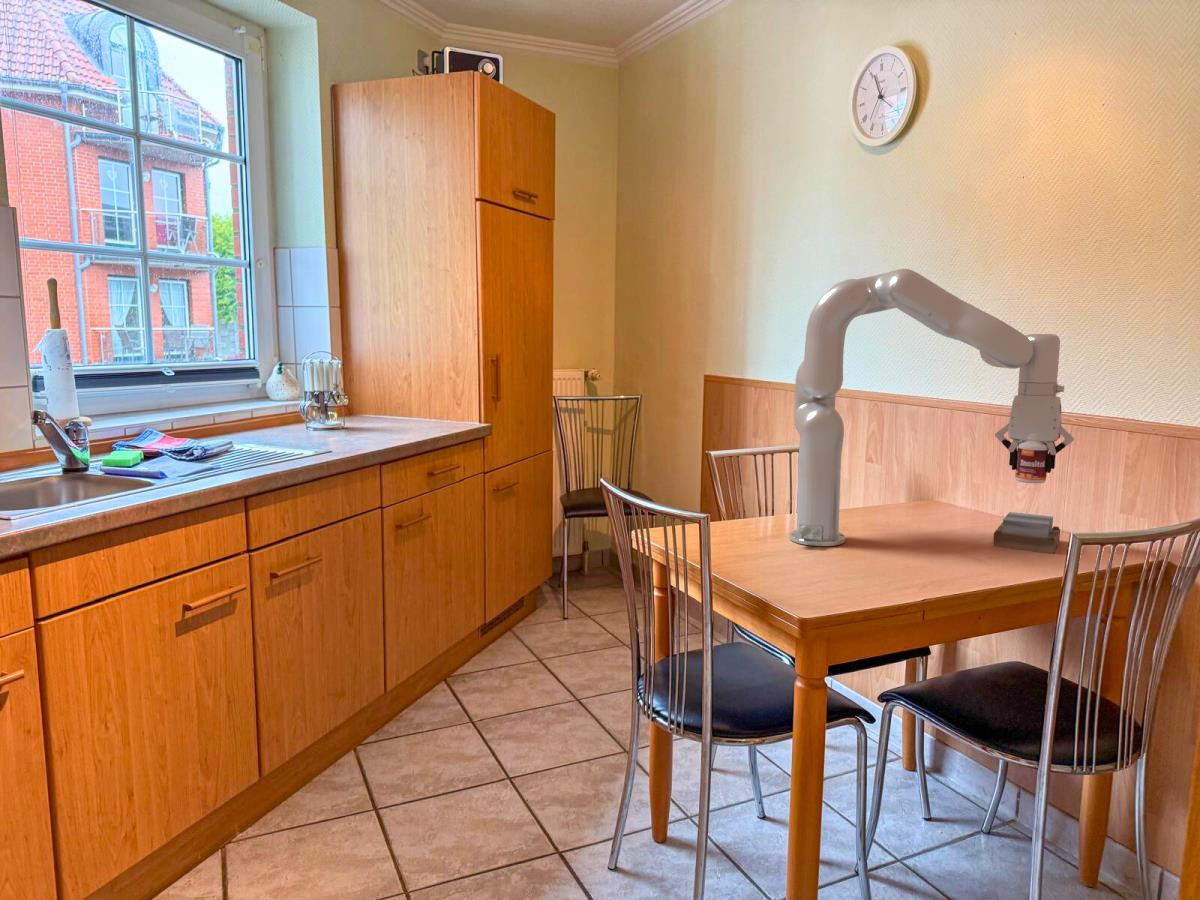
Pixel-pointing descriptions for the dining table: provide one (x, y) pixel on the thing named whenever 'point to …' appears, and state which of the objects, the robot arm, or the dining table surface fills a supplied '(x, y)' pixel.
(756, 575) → the dining table surface
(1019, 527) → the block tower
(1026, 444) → the pill bottle
